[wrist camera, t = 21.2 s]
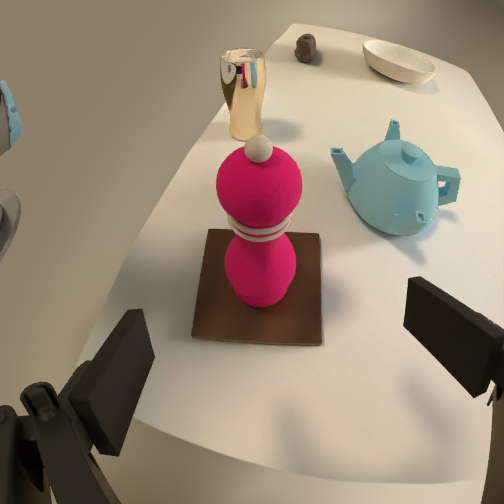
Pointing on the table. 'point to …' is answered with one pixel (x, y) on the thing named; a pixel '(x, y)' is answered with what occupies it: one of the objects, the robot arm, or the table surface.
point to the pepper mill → (259, 219)
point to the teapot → (396, 184)
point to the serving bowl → (398, 62)
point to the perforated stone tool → (305, 48)
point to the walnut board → (260, 318)
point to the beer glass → (244, 90)
